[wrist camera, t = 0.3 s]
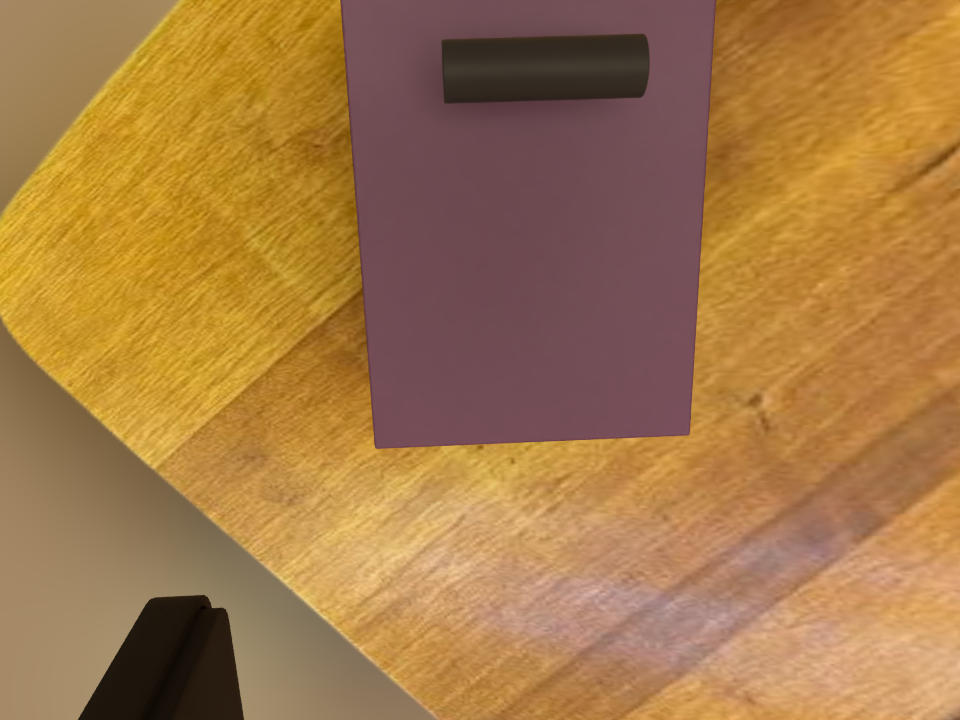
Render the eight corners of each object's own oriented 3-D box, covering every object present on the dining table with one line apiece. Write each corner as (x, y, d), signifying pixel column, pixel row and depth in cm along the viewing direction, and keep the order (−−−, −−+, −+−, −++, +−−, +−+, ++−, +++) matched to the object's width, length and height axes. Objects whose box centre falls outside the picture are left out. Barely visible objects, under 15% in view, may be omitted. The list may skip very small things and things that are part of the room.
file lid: (342, -1, 27) (318, -22, 22) (710, -11, 27) (770, -34, 22) (376, 441, 32) (363, 507, 27) (684, 428, 33) (728, 490, 28)
